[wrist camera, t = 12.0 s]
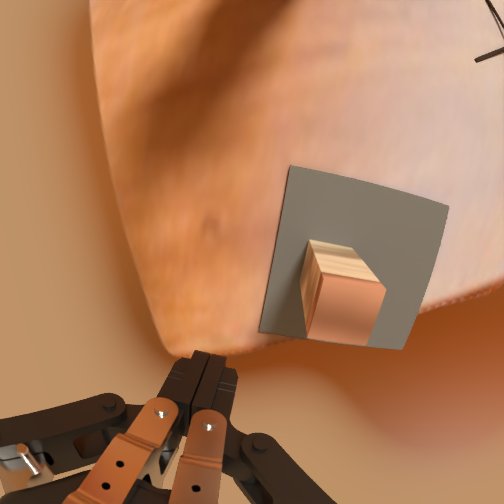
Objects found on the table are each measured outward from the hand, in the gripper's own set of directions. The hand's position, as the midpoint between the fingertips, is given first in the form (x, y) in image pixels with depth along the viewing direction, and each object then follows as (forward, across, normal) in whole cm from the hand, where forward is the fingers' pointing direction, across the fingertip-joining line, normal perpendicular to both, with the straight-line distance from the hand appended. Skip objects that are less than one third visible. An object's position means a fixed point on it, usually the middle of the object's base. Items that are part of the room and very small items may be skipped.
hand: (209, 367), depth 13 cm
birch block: (+20, -8, 0) cm, 22 cm away
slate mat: (+21, -12, 0) cm, 24 cm away
